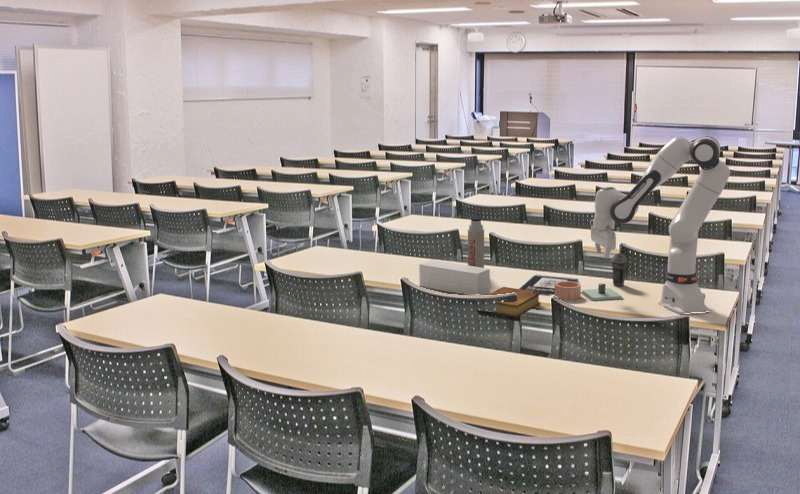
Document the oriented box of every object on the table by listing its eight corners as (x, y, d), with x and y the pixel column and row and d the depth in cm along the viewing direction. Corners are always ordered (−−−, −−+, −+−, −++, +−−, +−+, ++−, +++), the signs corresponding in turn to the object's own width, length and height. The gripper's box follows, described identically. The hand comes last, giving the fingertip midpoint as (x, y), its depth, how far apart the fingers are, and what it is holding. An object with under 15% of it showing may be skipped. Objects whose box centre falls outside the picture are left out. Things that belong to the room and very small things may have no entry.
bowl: (583, 300, 358) (584, 287, 356) (559, 301, 356) (559, 288, 355) (575, 293, 368) (575, 280, 367) (551, 294, 367) (551, 281, 366)
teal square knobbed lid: (621, 298, 357) (622, 287, 356) (592, 300, 355) (593, 288, 354) (610, 290, 369) (610, 279, 368) (582, 292, 368) (582, 281, 367)
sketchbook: (516, 293, 372) (516, 289, 372) (534, 278, 399) (534, 273, 398) (563, 298, 363) (563, 293, 363) (578, 281, 390) (579, 277, 389)
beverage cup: (625, 284, 382) (626, 242, 378) (627, 288, 375) (629, 246, 370) (609, 284, 383) (610, 242, 378) (611, 288, 376) (613, 245, 371)
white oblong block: (489, 291, 375) (489, 268, 373) (477, 297, 367) (477, 273, 364) (432, 281, 394) (432, 259, 392) (419, 286, 386) (419, 264, 384)
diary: (501, 299, 364) (501, 286, 363) (540, 305, 354) (540, 292, 353) (476, 311, 346) (476, 298, 344) (517, 318, 335) (517, 304, 334)
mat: (624, 300, 356) (624, 299, 356) (591, 302, 354) (591, 301, 354) (611, 291, 371) (611, 290, 370) (579, 293, 369) (579, 292, 368)
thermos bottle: (475, 276, 400) (475, 220, 394) (464, 273, 407) (464, 218, 400) (487, 274, 405) (487, 218, 399) (476, 271, 411) (476, 216, 405)
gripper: (620, 228, 346) (618, 260, 349) (602, 219, 365) (600, 249, 368) (606, 229, 345) (604, 261, 348) (588, 220, 365) (587, 250, 368)
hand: (602, 255), depth 358 cm, fingers open, 8 cm apart
